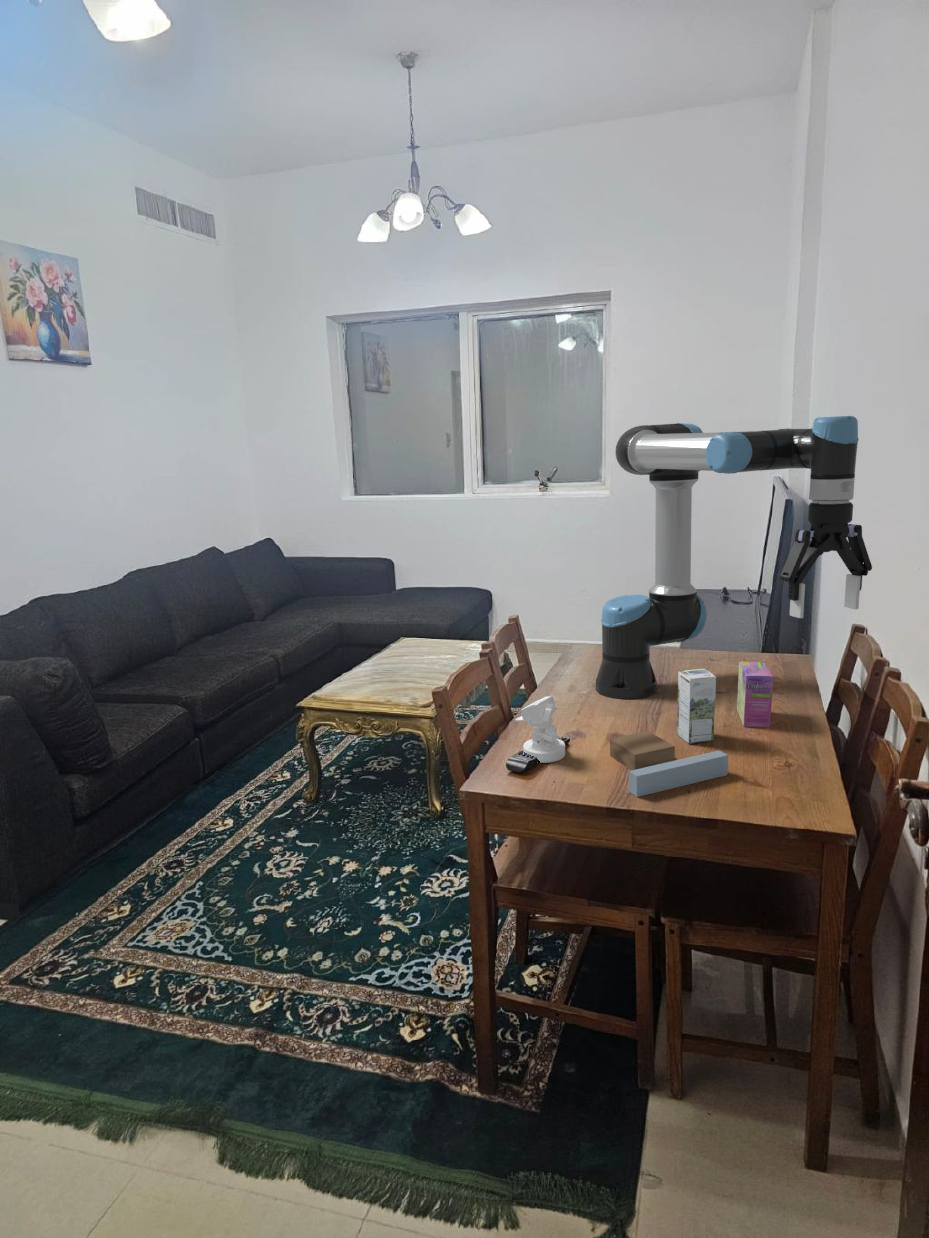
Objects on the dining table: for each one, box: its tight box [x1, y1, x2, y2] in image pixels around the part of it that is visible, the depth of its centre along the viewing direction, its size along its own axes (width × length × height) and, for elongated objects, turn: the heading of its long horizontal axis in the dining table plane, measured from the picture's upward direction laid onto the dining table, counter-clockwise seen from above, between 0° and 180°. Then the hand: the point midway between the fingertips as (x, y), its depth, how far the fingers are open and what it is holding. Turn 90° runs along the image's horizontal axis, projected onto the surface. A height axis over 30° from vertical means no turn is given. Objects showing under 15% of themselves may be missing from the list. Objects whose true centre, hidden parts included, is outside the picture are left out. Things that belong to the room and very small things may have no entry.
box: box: [736, 661, 774, 729], centre depth 170 cm, size 10×6×12 cm, turn 168°
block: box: [609, 730, 676, 771], centre depth 153 cm, size 9×9×4 cm
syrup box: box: [676, 668, 717, 745], centre depth 161 cm, size 6×6×14 cm
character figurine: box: [514, 695, 566, 764], centre depth 157 cm, size 9×10×12 cm
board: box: [628, 750, 729, 798], centre depth 142 cm, size 2×20×4 cm, turn 111°
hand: (824, 612), depth 149 cm, fingers open, 13 cm apart
